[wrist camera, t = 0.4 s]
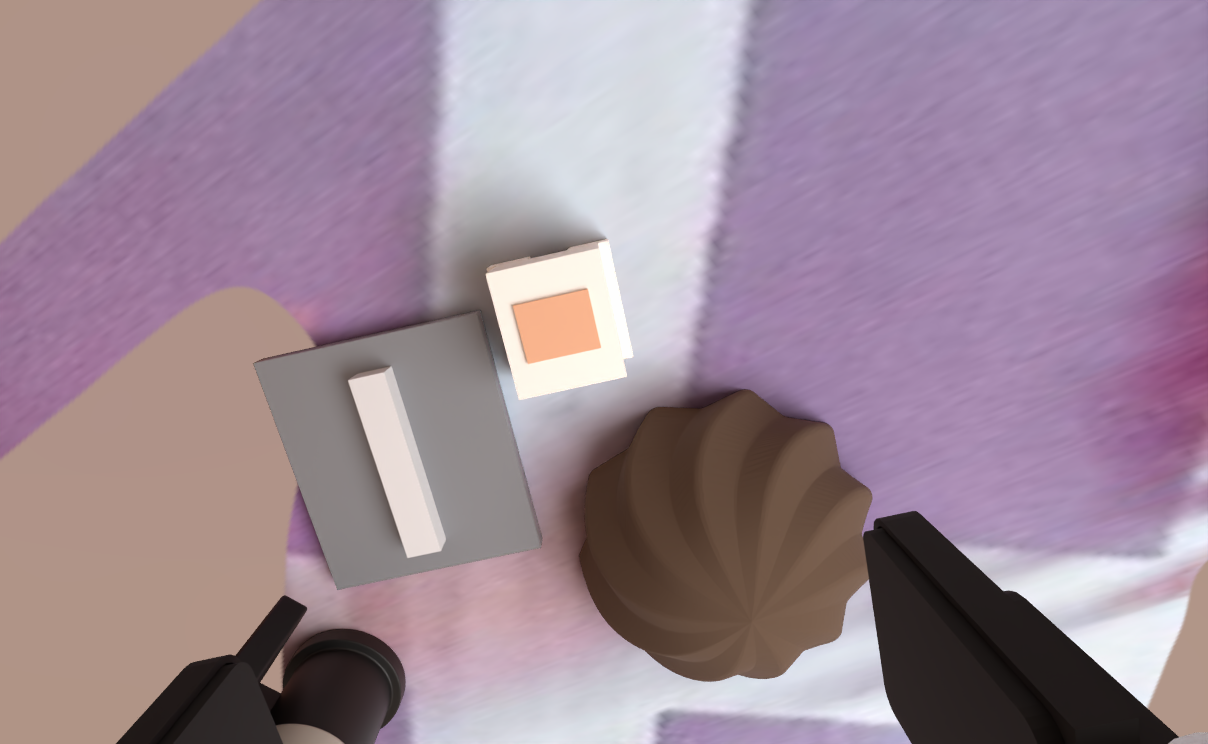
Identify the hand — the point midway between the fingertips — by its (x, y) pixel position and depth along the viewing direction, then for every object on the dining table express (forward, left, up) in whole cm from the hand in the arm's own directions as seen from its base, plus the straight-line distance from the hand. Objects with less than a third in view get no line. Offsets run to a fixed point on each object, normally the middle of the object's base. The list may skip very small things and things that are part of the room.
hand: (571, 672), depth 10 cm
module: (-1, -1, -32) cm, 32 cm away
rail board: (+6, -13, -32) cm, 35 cm away
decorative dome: (+16, +6, -32) cm, 37 cm away
